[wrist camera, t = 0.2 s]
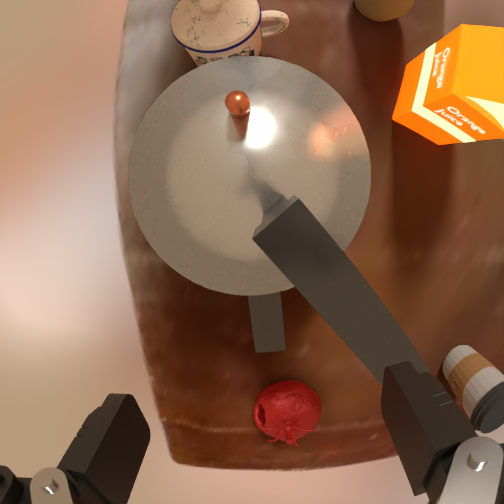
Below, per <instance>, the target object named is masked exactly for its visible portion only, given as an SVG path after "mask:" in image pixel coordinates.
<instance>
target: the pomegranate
mask: <svg viewBox="0 0 504 504" xmlns="http://www.w3.org/2000/svg"><path fill="white" fill-rule="evenodd" d="M320 415H321V401H320V399H319V397H318V395H317V394H316V393H315V392H314V390H312V389H311V388H310V387H309V386H307V385H306V384H304V383H302V382H300V381H296V380H286V381H280V382H276V383H273V384H271V385H269V386H268V387H266V388H265V389H263V390H262V392H261V393H260V394H259V395H258V397H257V400H256V402H255V407H254V411H253V418H254V421H255V424H256V425H257V427H258V428H259V429H260V430H261V431H263V432H264V433H265V434H266V435H269V436H272V437H275V439H274V440H268V441H271V442H275V441H276V440H277V439H279V440H282V441H286V442H287V444H292V443H293V442H294V443H295V444H296V445H297V446H298V444H297V442H296V440H297V439H299V438H301V437H302V436H304V435H306V434H307V433H309V432H311V431H313V430H316V429H318V428H315V426H316V425H317V422H318V421H319V419H320ZM314 428H315V429H314ZM268 441H267V442H268Z"/></svg>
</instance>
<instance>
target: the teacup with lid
mask: <svg viewBox="0 0 504 504" xmlns="http://www.w3.org/2000/svg"><path fill="white" fill-rule="evenodd" d="M270 20H276V21H280V22H279V23H278V24H276V25H274V26H271V27H266V28H260V22H261V21H270ZM288 25H289V19H288V16H287V15H286V14H285V13H283V12H280V11H261V8H260V5H259V3H258V1H257V0H180V2H179V3H178V4H177V6H176V7H175V9H174V11H173V14H172V17H171V30H172V33H173V36H174V37H175V39H176V40H177V41H178V42H179V43H180V44H181V45H182V46H184V47H185V49H186V50H187V51H188V53H189V54H190V56H191V57H192V58H193V60H194V61H195V63H196V64H197V65H198V66H199V67H200V66H202V65H204V64H207V63H210V62H213V61H217V60H220V59H225V58H231V57H237V56H259V54H260V51H261V37H268V36H273V35H276V34H279V33H281V32H283V31H284V30H285V29H286V28H287V27H288Z"/></svg>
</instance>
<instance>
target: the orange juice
mask: <svg viewBox="0 0 504 504" xmlns="http://www.w3.org/2000/svg"><path fill="white" fill-rule="evenodd" d="M392 120H394V121H396V122H398V123H400V124H402V125H404V126H406V127H408V128H410V129H411V130H413V131H415V132H417V133H419V134H421V135H422V136H424V137H426V138H428V139H429V140H431V141H433V142H434V143H436V144H438V145H444V144H451V143H460V142H463V143H464V142H473V141H477V140H487V139H498V138H504V28H498V27H489V26H476V25H465V24H462V25H460V26H459V27H457V28H456V29H455V30H453V31H452V32H450V33H449V34H448V35H446V36H445V37H443V38H442V39H441V40H439V41H438V42H437V43H434V44H433V45H432V46H430V47H429V48H428V49H426V51H424V52H423V53H422V54H420V55H419V56H418V57H416V58H415V59H414V60H412V61H411V62H410V63H408V64H407V65H406V69H405V73H404V77H403V81H402V85H401V89H400V92H399V96H398V100H397V103H396V107H395V110H394V114H393V117H392Z"/></svg>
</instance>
